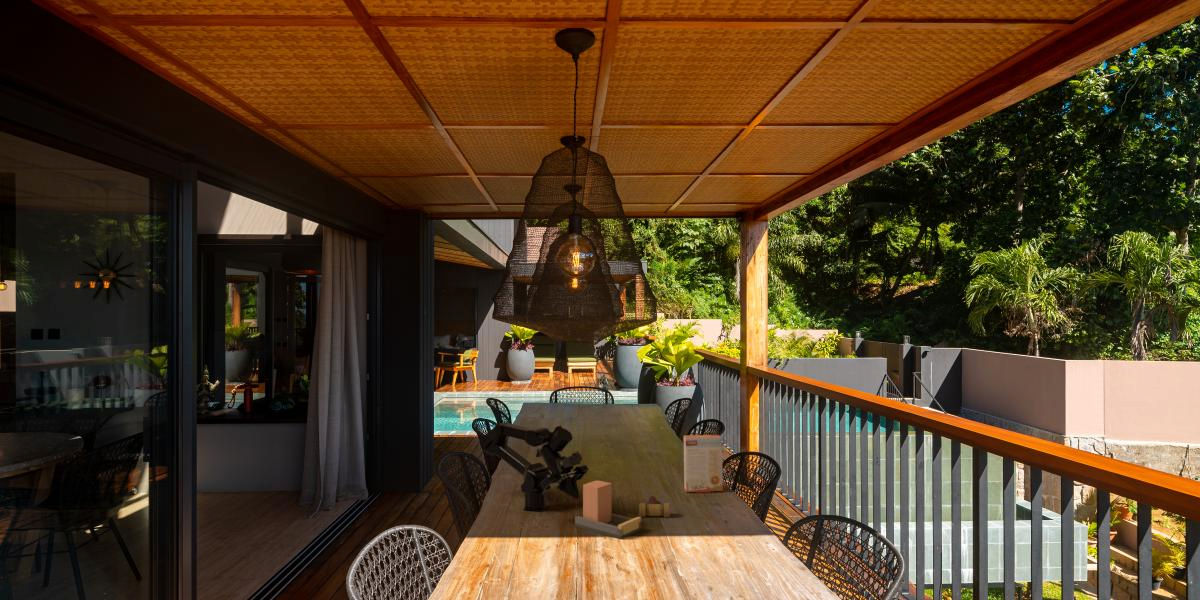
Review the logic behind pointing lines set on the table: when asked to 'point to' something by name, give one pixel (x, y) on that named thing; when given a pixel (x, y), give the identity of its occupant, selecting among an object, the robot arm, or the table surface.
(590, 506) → the block
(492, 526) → the table surface
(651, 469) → the table surface
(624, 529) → the gray tray
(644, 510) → the gavel
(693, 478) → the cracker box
